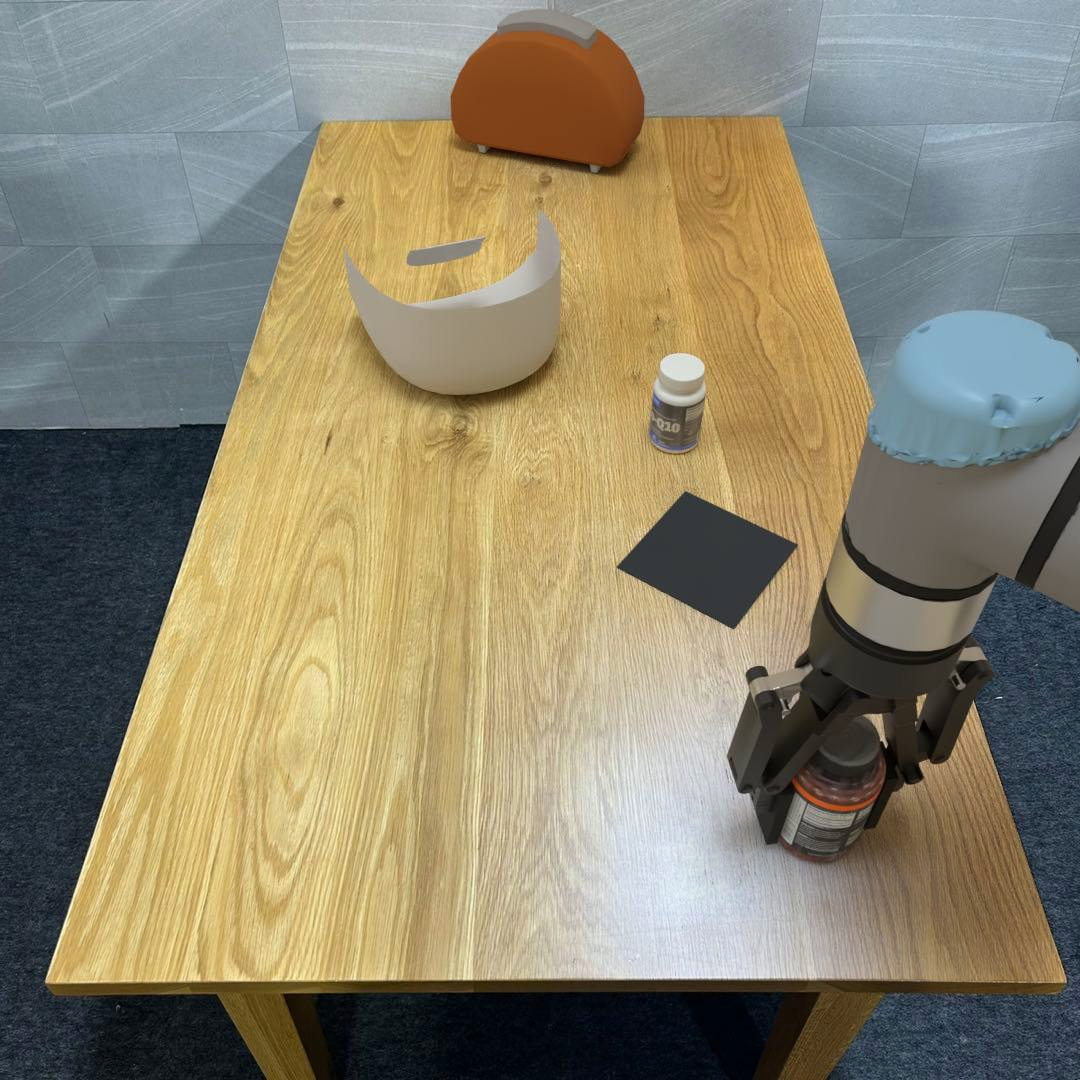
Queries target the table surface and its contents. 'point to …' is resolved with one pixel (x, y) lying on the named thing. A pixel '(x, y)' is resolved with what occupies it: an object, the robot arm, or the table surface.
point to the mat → (708, 558)
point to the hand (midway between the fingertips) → (814, 817)
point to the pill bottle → (678, 403)
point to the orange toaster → (549, 91)
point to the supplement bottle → (835, 793)
